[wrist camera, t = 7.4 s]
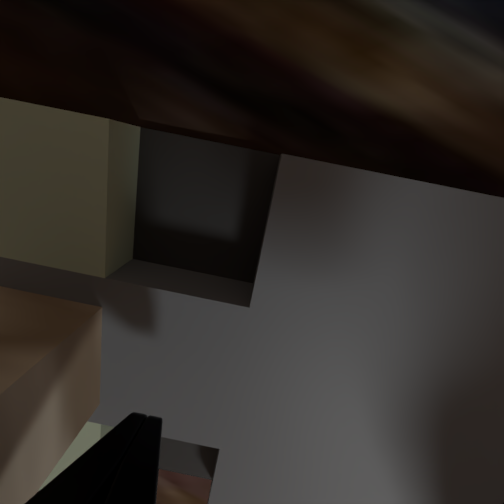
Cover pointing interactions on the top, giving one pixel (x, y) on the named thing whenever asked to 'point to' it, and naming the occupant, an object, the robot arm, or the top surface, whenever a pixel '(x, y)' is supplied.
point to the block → (43, 384)
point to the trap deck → (269, 309)
